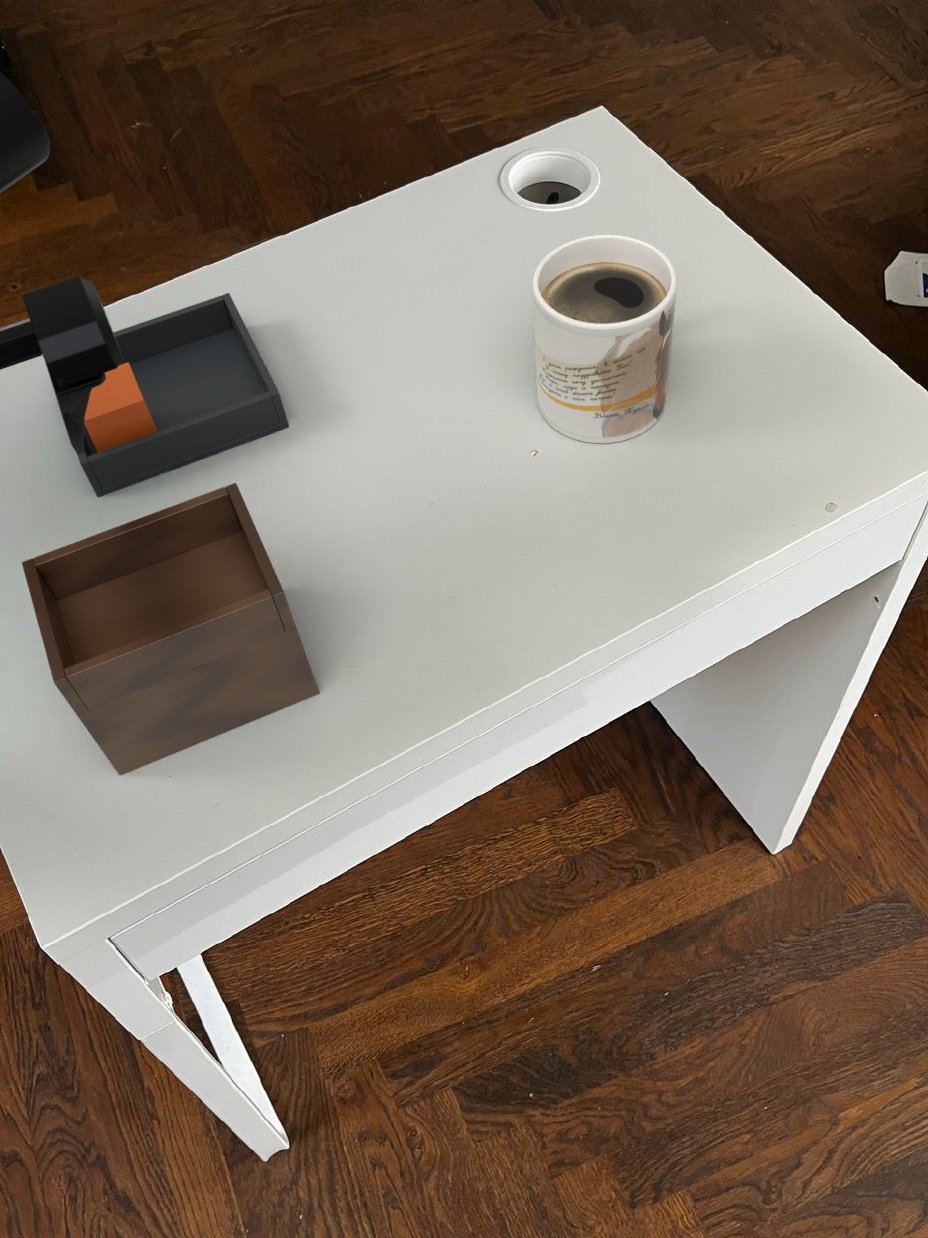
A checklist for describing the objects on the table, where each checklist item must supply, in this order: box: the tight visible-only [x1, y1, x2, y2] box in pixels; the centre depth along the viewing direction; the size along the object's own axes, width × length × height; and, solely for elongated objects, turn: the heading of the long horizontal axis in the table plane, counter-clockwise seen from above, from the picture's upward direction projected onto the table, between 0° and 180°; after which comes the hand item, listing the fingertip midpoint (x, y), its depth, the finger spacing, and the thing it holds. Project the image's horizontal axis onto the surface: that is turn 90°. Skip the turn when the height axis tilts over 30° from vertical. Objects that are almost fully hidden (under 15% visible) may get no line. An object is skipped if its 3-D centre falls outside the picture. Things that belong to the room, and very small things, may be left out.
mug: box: [531, 234, 678, 444], centre depth 83 cm, size 10×12×11 cm
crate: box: [21, 482, 320, 776], centre depth 71 cm, size 13×9×11 cm
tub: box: [77, 292, 290, 498], centre depth 89 cm, size 15×13×4 cm
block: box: [85, 362, 157, 452], centre depth 85 cm, size 4×4×6 cm
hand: (6, 475), depth 71 cm, fingers open, 9 cm apart
